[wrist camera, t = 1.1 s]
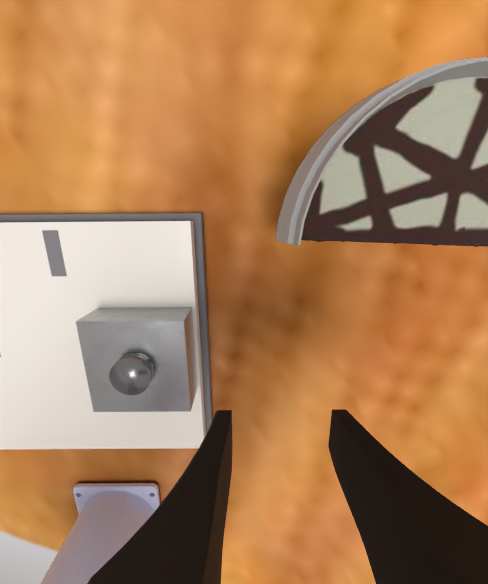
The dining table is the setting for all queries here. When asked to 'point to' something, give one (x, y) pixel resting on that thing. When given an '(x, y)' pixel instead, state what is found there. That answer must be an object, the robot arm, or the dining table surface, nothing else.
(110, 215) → the susan base
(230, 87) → the dining table surface
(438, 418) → the dining table surface
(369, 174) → the food container
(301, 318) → the dining table surface
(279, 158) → the dining table surface
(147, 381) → the cover
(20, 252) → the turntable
